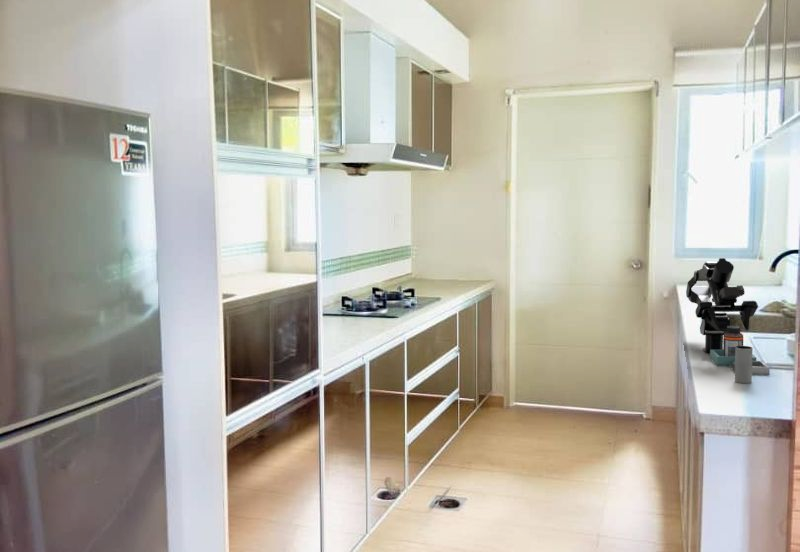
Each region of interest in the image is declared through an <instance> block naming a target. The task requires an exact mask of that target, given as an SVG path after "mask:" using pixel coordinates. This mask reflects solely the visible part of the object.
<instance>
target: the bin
mask: <svg viewBox="0 0 800 552" xmlns="http://www.w3.org/2000/svg"><path fill="white" fill-rule="evenodd" d="M709 358H710V360H711V361H712V362H713V363H714V364H715V365H716V366H717V367H730V360H735V357H726V356H723V350H710V353H709ZM752 361H757V357H756V355H754V354H753V353H752Z"/></svg>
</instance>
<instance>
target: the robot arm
mask: <svg viewBox="0 0 800 552" xmlns="http://www.w3.org/2000/svg"><path fill="white" fill-rule="evenodd" d="M734 269H735V266H734V264H732V263H731V262H730V261H728V260H726V258H724V257H723V258H722V257H720V258H718V261H705V262H704V264H703V265H702V268H700V269H698V270H695V271H694V272H693V275H692V278H690V279H689V280H688V281H687V284H686V290H685V294H686V295H685V296H686V298H687V299H688V301H689V302H691V304H692V303H693V304H696V308H695V311H694V312H695V316H696V318H697V319H698V318H699V319H701V323H700V325H699V326H700V327H699V332H700V333H699V334H701V335H703V336H705V338H704V339H705V344H704V346H705V347H703V348H702V351H703V352H705V354H710V350H723V338H724V334H725V333H726V332H727V326H732V325H731V324H732V322H731V320H730V318H729V317H728V315H727V313H739V315H740V320H741V322H742V325H743V327H744V329H745V330H746V331H748V330H749V328H750V319H751V317H754V316H755V313H756V311H757V310H758V308H759V305H758V302H757V301H756V300H743V302H742V303H741V304H740V305H737V304H736V305H735V303H737V302H738V298H740V297H742V296H744V295H745V288H744V286H743V285H739V284H738V285H736V286H729V285H728V283H730V280H731V277H732V274H733V273H734V272H733V271H734ZM697 282H707V284H708V285H696V284H697ZM711 297H712V298H711Z"/></svg>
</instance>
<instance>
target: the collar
mask: <svg viewBox="0 0 800 552" xmlns="http://www.w3.org/2000/svg"><path fill="white" fill-rule="evenodd" d="M729 367H730V368H731V369H732V370H733V372H735V360H730V366H729ZM770 369H771V368H770V366H769V365H767V364H766V363H765V362H763V361H762V360H756V361H752V375H770V374H771V373H770Z"/></svg>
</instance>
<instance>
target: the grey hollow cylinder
mask: <svg viewBox="0 0 800 552" xmlns="http://www.w3.org/2000/svg"><path fill="white" fill-rule="evenodd" d="M752 354H753V346H748V345H743V346H736V347H735V371H734V381H735V383H740V384H751V383H752V382H753V381H752V380H753V374H752Z"/></svg>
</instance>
